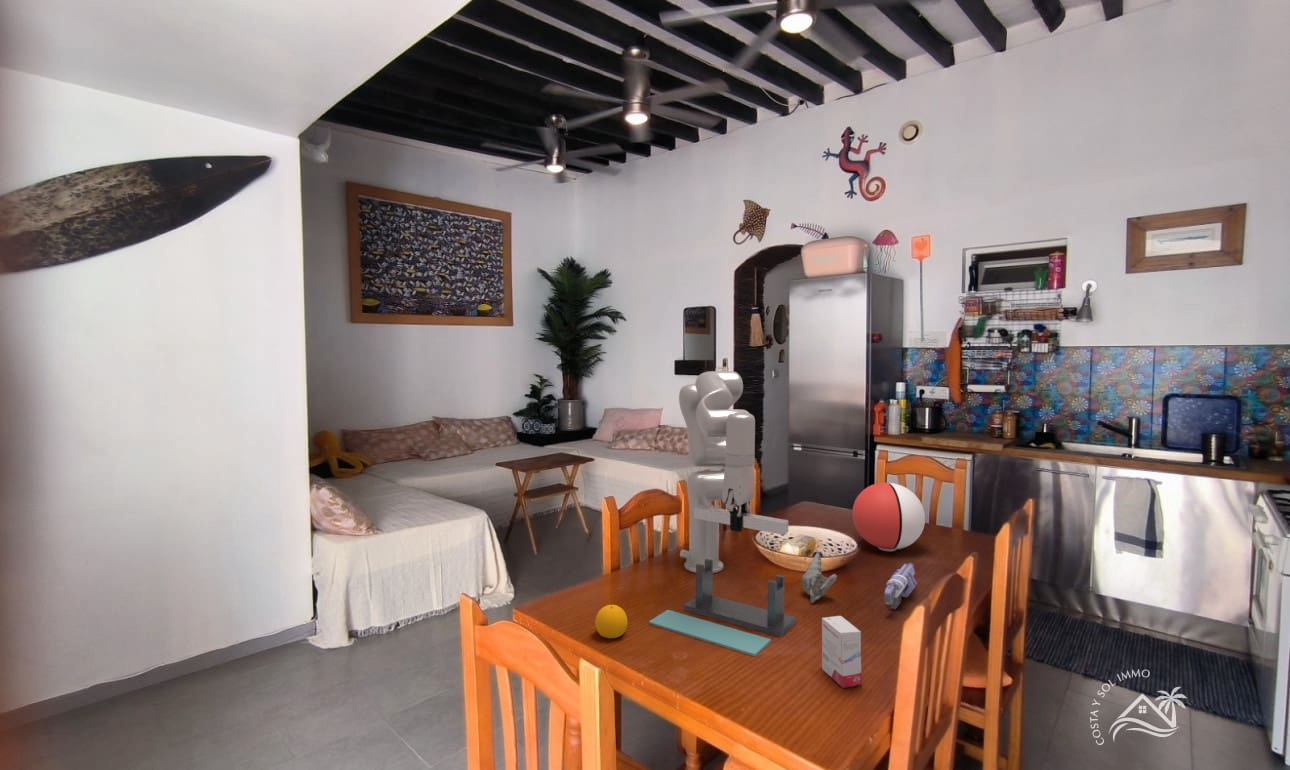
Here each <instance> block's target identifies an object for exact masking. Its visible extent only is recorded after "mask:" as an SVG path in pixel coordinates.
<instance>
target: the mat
mask: <svg viewBox="0 0 1290 770" xmlns="http://www.w3.org/2000/svg"><path fill="white" fill-rule="evenodd" d="M648 625H651V626H654V627H659V628H661V629H664V630H667V631H670V632H673V633H678V634H681V635H684V636H687V637H689V638H693V639H697V640H700V641H703V642H706V643H710V644H712V645H715V646H719V647H722V648H726V649H728V650H731V651H736V652H739V653H742V654H744V655H749V656H751V657H753V658H754V657H757V655H759V654H760V653H761V652H763V650H764V649H765V648H766V647H767V646H768V645H769V644H770V643H771V642H772V639H771V638H767V637H765V636H761V635H757V634H755V633H754V634H753V633H750V632H747V631H743V630H739V629H737V628H733V627H729V626H726V625H723V624H719V623H715V622H712V621H709V620H705V619H700V618H698V617H695V616H691V615H687V614H684V613H680V612H677V611H674V610H670V609H667V610H665V611H663V612H662V613H660V614H658V615H657V616H655V617H654V618H653V619H651V620H649V621H648Z"/></svg>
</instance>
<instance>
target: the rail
mask: <svg viewBox="0 0 1290 770" xmlns="http://www.w3.org/2000/svg"><path fill="white" fill-rule="evenodd" d="M714 507H715V506H714ZM714 507H708V506H702V505H698V506H696V507H694V518H696V519H701V520H707V521H712V522H717V523H719V524H724V525H729V526H730V515H729V511H728V510H727V509H726V508H719V507H715V508H714ZM741 516H742V527H744V528H743V529H751V530H756V531H761V532H766V533H770V534H771V533H772V534H777V535H782V536H783V535H786V534H788V533H789V519H788V520H787V519H782V518H776V517H770V516H765V515H759V514H755V513H750V512H749V513H743V512H741Z"/></svg>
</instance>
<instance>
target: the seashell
mask: <svg viewBox="0 0 1290 770" xmlns="http://www.w3.org/2000/svg"><path fill="white" fill-rule="evenodd" d="M821 554H822V552H821V551H820V550H819V551H818V550H817V551H816V553H815V555H814V557H813V558H812V560H811V561H810V564H809V566H808V567H807V568H806V569H805V570H806V571H805V573H804V574H803V575H802V578H801V587H802V589H803V591H804V592H805V593H806V594H807V595H808V596H810V604H811V603H812V604H814V603H815V602H816V601H817V600H819V599H820V598H822V597H823V596H824V595H826V593H827V591H828V589H830V588H831V586H832V585H834V584H835V582H836V581H837V579H838V575H837V574H835V573H833V574H832V575H830V576H829V577H825V576H824V575H823V573H822V571H823V570H822V558H821V557H822V555H821Z"/></svg>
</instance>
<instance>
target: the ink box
mask: <svg viewBox="0 0 1290 770" xmlns="http://www.w3.org/2000/svg"><path fill="white" fill-rule="evenodd" d="M861 636H862V631H861V630H859V628H857V627H856V626H855V625H853V624H852V623H851V622H850V621H849V620H847V619H845V618H844V617H843V616H842V615H833V616H828V617H826V616H825V617H822V618H821V667H822V668H821V669H822V670H823V671H824V672H825V673H826V674H827V675H828V676H830V678H832V679H833V680H834V681H835V683H837V684H838V685H839V686H840V687H841V688H843V689H845V688H850V687H855V686H860V685H862V684H863V683H862V639H861V638H862V637H861Z"/></svg>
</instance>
